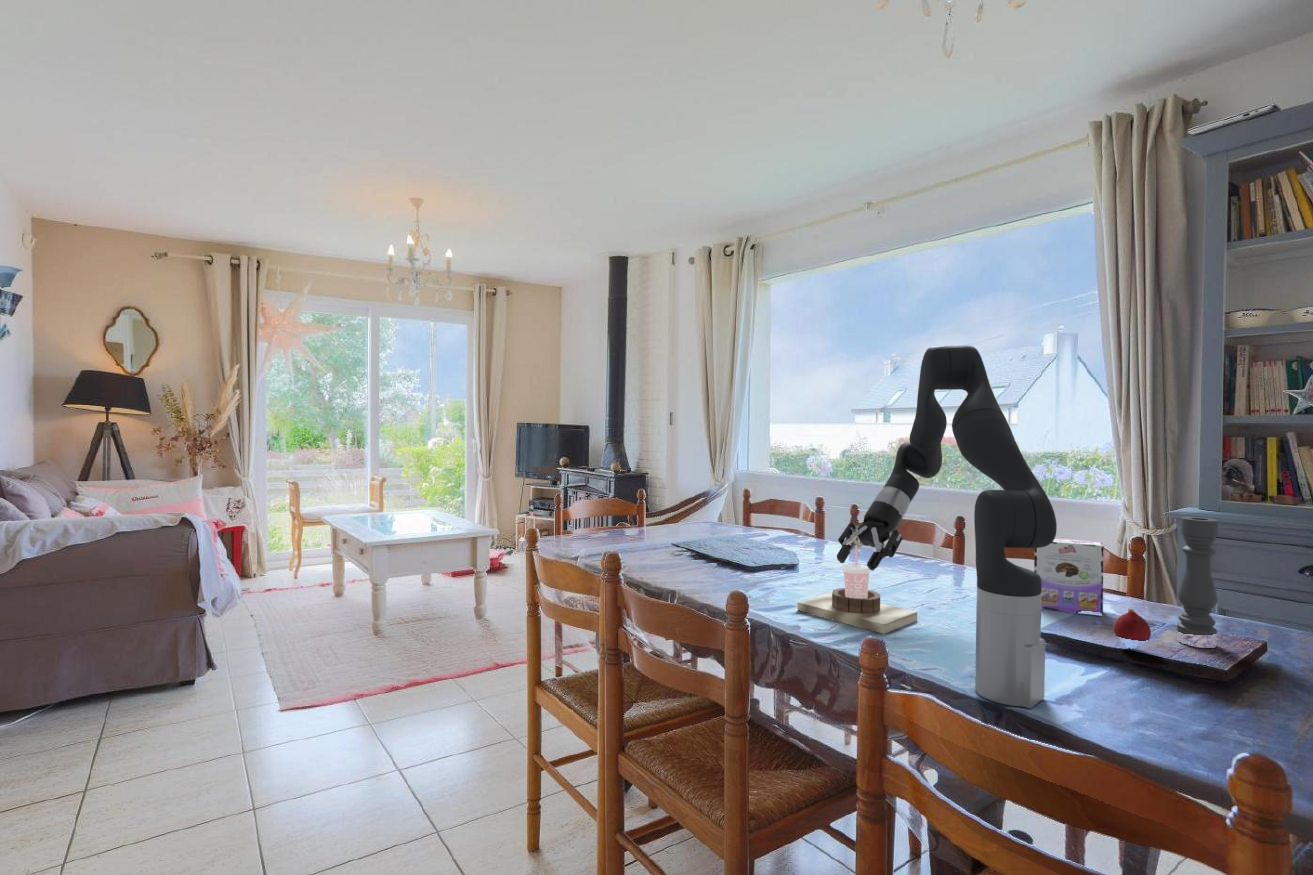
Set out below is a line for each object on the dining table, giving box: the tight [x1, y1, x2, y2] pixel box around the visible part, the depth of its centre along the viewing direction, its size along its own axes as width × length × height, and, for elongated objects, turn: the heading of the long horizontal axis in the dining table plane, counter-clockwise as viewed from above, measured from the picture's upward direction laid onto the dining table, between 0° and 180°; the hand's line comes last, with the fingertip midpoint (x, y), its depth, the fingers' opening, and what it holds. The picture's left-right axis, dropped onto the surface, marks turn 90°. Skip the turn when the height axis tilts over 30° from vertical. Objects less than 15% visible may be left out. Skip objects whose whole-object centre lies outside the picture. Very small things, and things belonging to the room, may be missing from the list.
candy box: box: [1033, 538, 1104, 614], centre depth 155 cm, size 14×6×16 cm, turn 58°
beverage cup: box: [841, 545, 871, 599], centre depth 150 cm, size 6×6×14 cm
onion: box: [1113, 607, 1152, 641], centre depth 128 cm, size 6×6×8 cm
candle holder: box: [1176, 516, 1219, 635], centre depth 132 cm, size 6×6×25 cm
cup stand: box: [796, 587, 918, 635], centre depth 150 cm, size 22×14×5 cm, turn 41°
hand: (854, 564), depth 149 cm, fingers open, 8 cm apart
